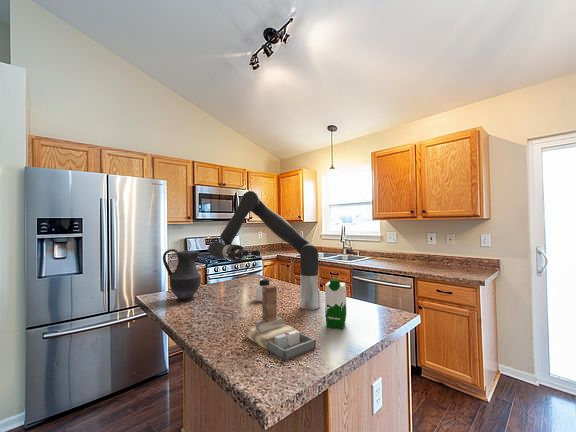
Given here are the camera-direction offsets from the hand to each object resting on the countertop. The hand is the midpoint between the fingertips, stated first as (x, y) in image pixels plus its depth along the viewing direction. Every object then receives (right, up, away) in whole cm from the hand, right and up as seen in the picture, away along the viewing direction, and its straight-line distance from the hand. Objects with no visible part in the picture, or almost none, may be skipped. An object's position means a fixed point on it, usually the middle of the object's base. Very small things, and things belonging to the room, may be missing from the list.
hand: (251, 254), depth 116 cm
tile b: (+13, -28, -21) cm, 37 cm away
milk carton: (+37, -31, 0) cm, 48 cm away
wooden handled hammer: (+9, -27, -11) cm, 30 cm away
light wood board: (+10, -30, -12) cm, 34 cm away
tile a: (+17, -28, -17) cm, 37 cm away
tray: (+17, -30, -22) cm, 41 cm away
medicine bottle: (+2, -32, +41) cm, 52 cm away
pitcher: (-46, -33, +41) cm, 69 cm away
